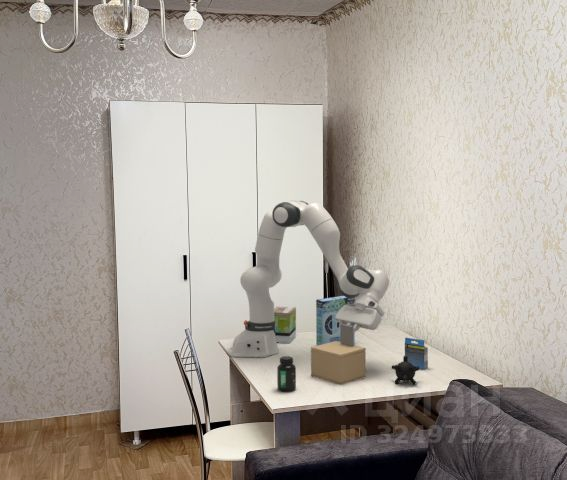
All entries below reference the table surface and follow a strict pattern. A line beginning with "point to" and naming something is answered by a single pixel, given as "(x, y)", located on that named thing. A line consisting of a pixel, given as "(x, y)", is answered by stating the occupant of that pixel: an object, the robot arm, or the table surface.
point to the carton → (338, 367)
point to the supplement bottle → (286, 374)
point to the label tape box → (416, 353)
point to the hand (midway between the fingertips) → (348, 333)
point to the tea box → (285, 324)
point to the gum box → (329, 319)
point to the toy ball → (405, 371)
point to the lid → (340, 344)
